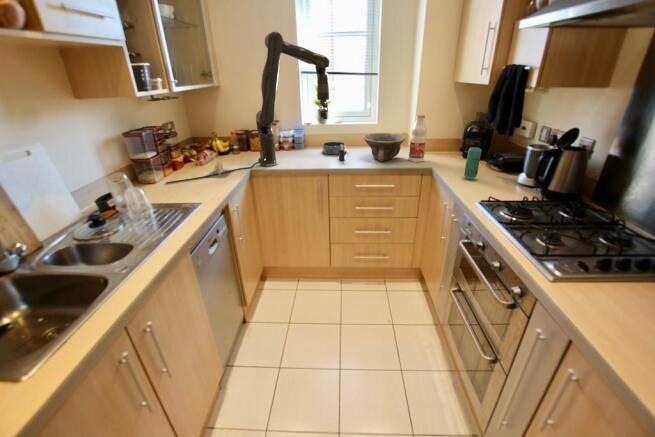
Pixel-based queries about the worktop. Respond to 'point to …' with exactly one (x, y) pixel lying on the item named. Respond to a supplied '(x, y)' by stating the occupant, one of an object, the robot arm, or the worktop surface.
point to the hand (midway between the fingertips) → (323, 118)
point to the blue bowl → (333, 147)
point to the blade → (341, 153)
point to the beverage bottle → (473, 160)
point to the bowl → (384, 145)
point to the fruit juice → (418, 140)
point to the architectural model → (219, 170)
